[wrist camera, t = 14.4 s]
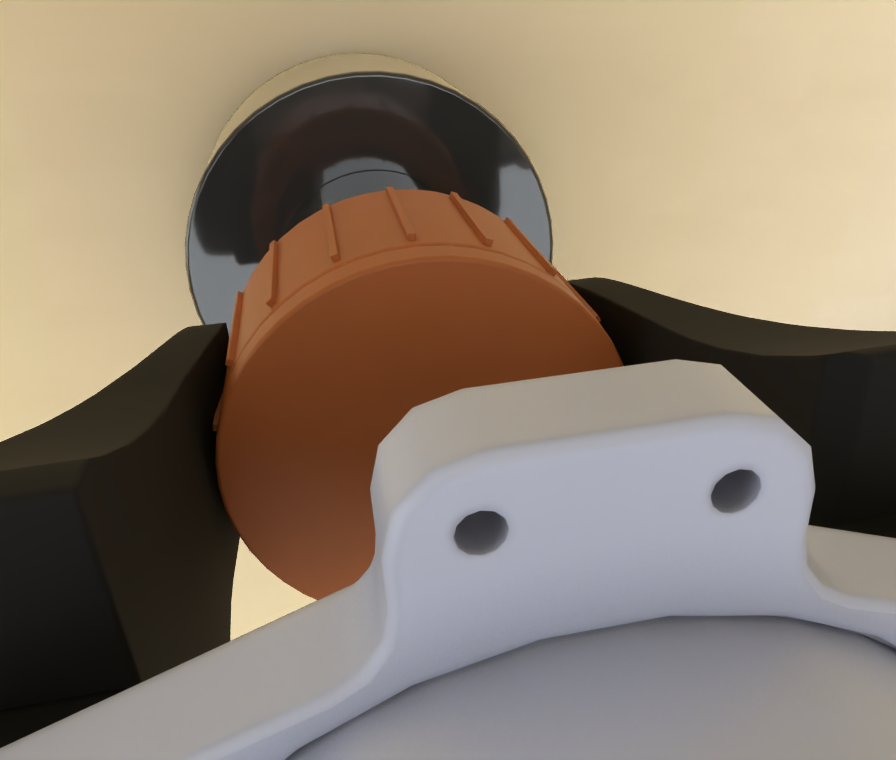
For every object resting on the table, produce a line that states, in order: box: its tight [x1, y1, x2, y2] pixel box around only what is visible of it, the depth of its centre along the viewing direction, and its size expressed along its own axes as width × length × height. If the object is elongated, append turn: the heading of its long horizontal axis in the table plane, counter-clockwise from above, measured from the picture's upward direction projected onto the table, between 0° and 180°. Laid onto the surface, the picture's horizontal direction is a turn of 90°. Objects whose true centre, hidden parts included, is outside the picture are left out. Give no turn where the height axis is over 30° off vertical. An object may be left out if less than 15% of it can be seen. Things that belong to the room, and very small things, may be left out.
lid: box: [213, 186, 623, 600], centre depth 12 cm, size 6×6×3 cm
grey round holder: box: [185, 53, 553, 337], centre depth 17 cm, size 8×8×7 cm
